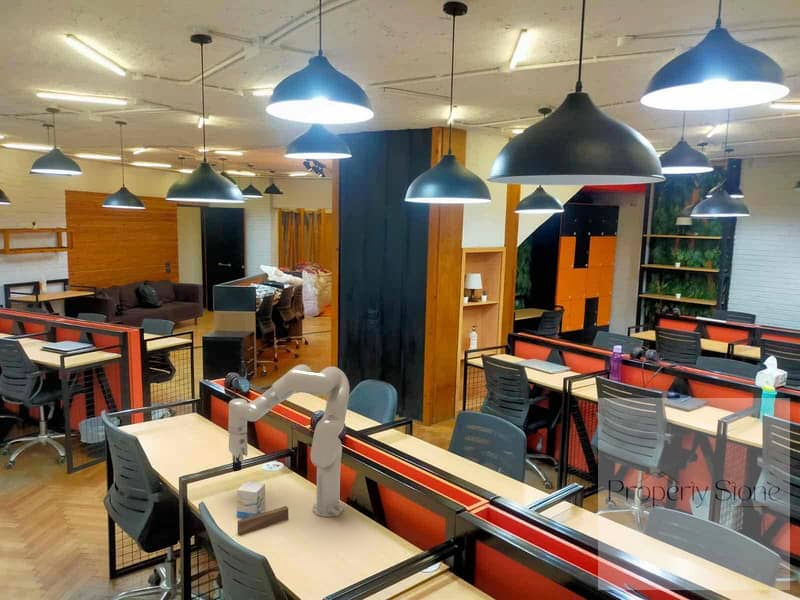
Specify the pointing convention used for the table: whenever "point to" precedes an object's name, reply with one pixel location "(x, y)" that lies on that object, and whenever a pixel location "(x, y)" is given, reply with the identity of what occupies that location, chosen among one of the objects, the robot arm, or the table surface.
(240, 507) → the ink box
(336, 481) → the robot arm
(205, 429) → the table surface
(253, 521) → the board
